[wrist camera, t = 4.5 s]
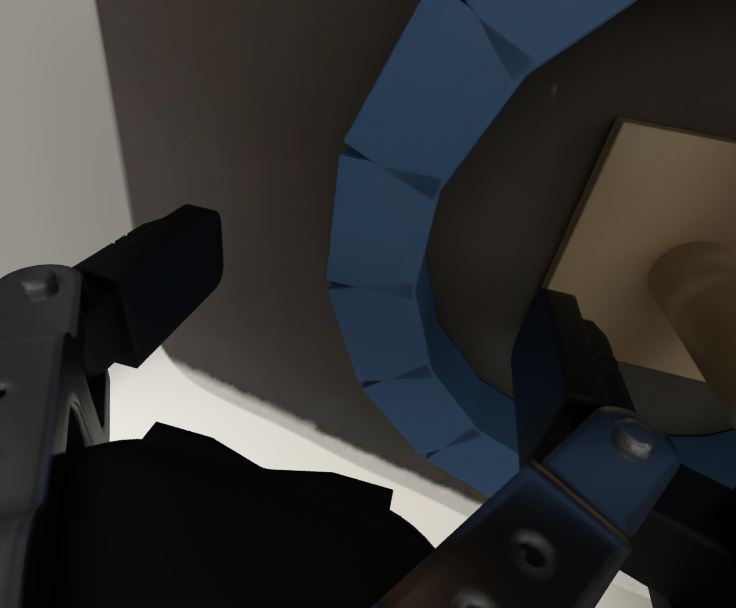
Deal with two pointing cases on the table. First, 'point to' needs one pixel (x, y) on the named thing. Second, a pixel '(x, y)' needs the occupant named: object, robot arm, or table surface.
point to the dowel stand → (659, 253)
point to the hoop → (415, 217)
